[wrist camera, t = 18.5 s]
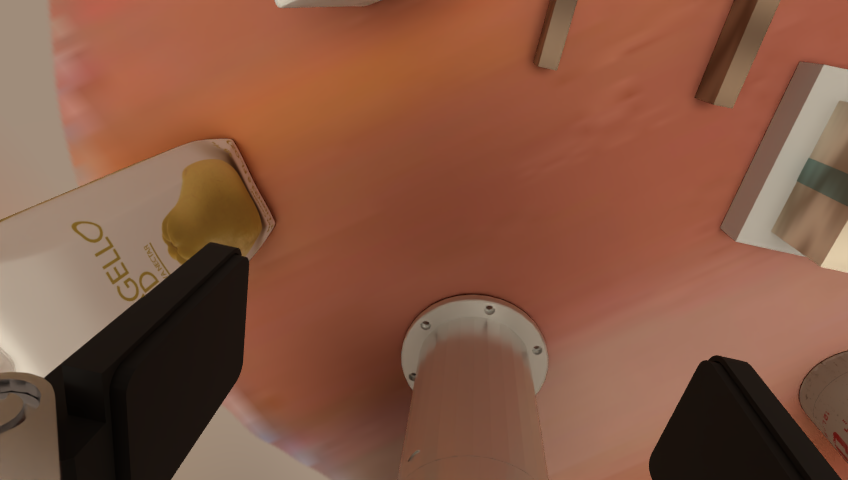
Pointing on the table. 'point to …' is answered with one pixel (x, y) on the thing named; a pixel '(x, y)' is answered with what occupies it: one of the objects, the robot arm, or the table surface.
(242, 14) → the table surface
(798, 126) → the plate
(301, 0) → the skincare box
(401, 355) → the robot arm
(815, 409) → the thermos bottle
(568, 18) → the shelf bay
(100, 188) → the juice carton
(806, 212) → the parcel
